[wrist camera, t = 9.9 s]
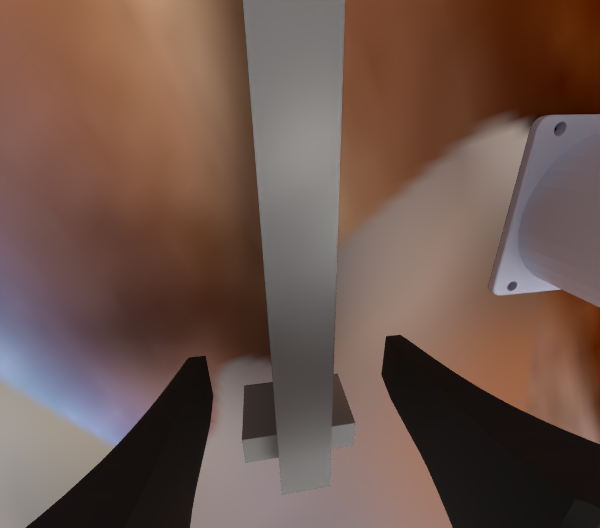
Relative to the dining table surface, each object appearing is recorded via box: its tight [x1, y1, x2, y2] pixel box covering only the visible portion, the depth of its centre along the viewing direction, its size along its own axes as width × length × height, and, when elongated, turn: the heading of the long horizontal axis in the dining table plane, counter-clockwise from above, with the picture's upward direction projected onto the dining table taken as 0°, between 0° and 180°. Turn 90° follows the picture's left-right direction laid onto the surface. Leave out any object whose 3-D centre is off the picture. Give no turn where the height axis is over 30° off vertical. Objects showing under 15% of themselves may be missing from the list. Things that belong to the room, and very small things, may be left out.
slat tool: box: [242, 0, 355, 495], centre depth 10 cm, size 5×20×4 cm, turn 1°
